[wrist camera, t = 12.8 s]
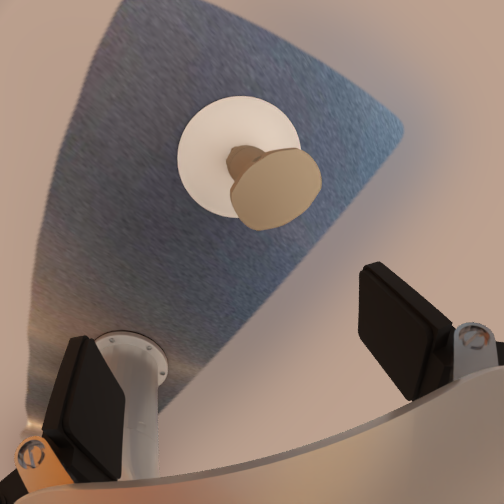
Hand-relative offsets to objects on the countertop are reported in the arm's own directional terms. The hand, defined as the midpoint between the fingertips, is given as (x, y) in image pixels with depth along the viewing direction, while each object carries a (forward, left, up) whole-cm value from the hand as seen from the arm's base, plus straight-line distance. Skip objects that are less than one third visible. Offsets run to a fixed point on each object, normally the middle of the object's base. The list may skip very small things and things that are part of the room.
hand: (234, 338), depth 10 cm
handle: (+1, -5, -27) cm, 28 cm away
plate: (+1, -5, -29) cm, 29 cm away
